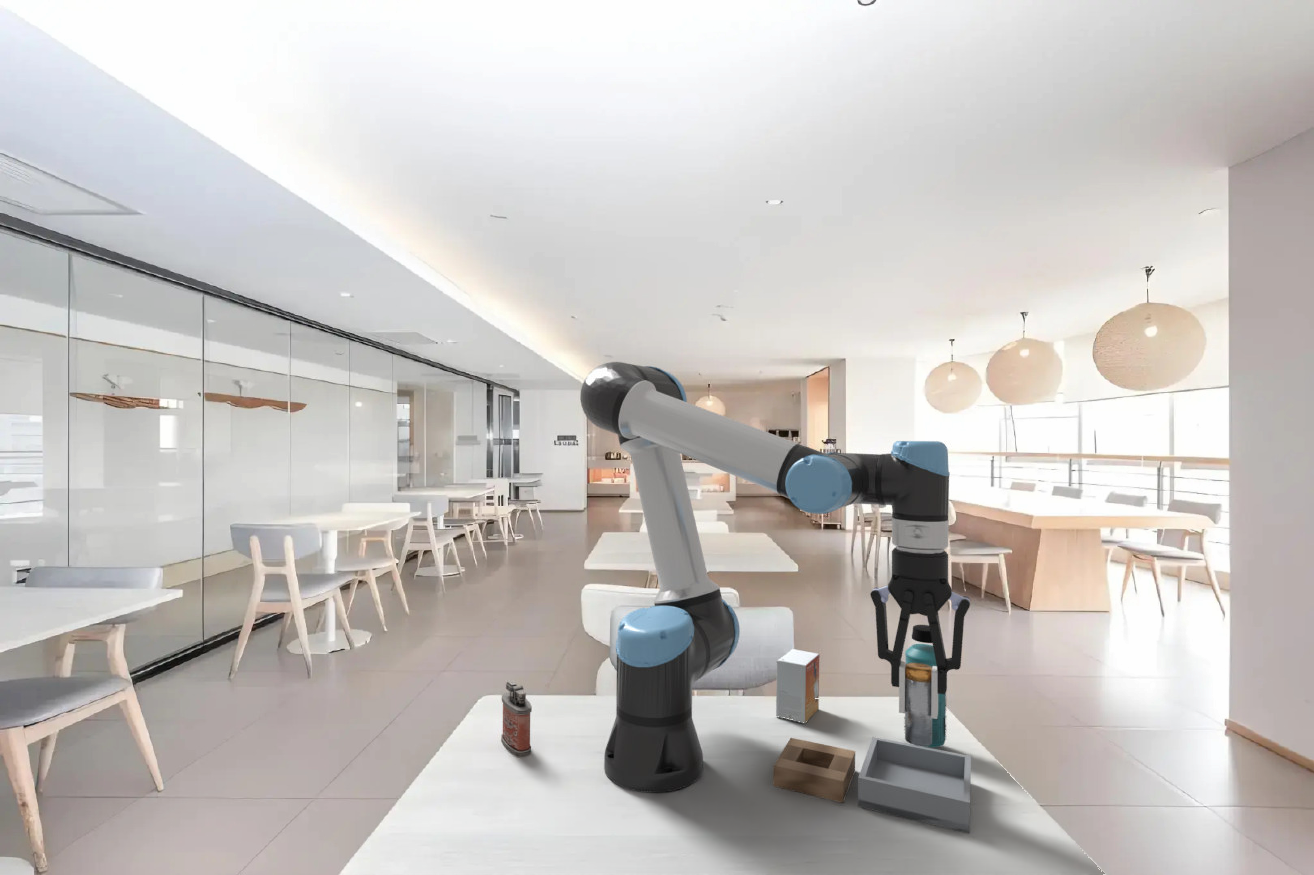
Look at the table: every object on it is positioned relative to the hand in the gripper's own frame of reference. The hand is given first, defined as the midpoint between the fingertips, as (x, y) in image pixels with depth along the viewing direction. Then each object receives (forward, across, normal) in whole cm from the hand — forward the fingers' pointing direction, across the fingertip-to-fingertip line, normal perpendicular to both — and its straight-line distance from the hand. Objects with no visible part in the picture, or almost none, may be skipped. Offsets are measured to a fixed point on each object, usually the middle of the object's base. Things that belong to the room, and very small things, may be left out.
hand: (918, 711), depth 96 cm
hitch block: (+12, -14, -2) cm, 19 cm away
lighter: (+12, -60, -14) cm, 63 cm away
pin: (+4, 0, 0) cm, 4 cm away
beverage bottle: (+12, 0, +16) cm, 20 cm away
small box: (+12, -22, +20) cm, 32 cm away
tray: (+12, 0, 0) cm, 12 cm away
